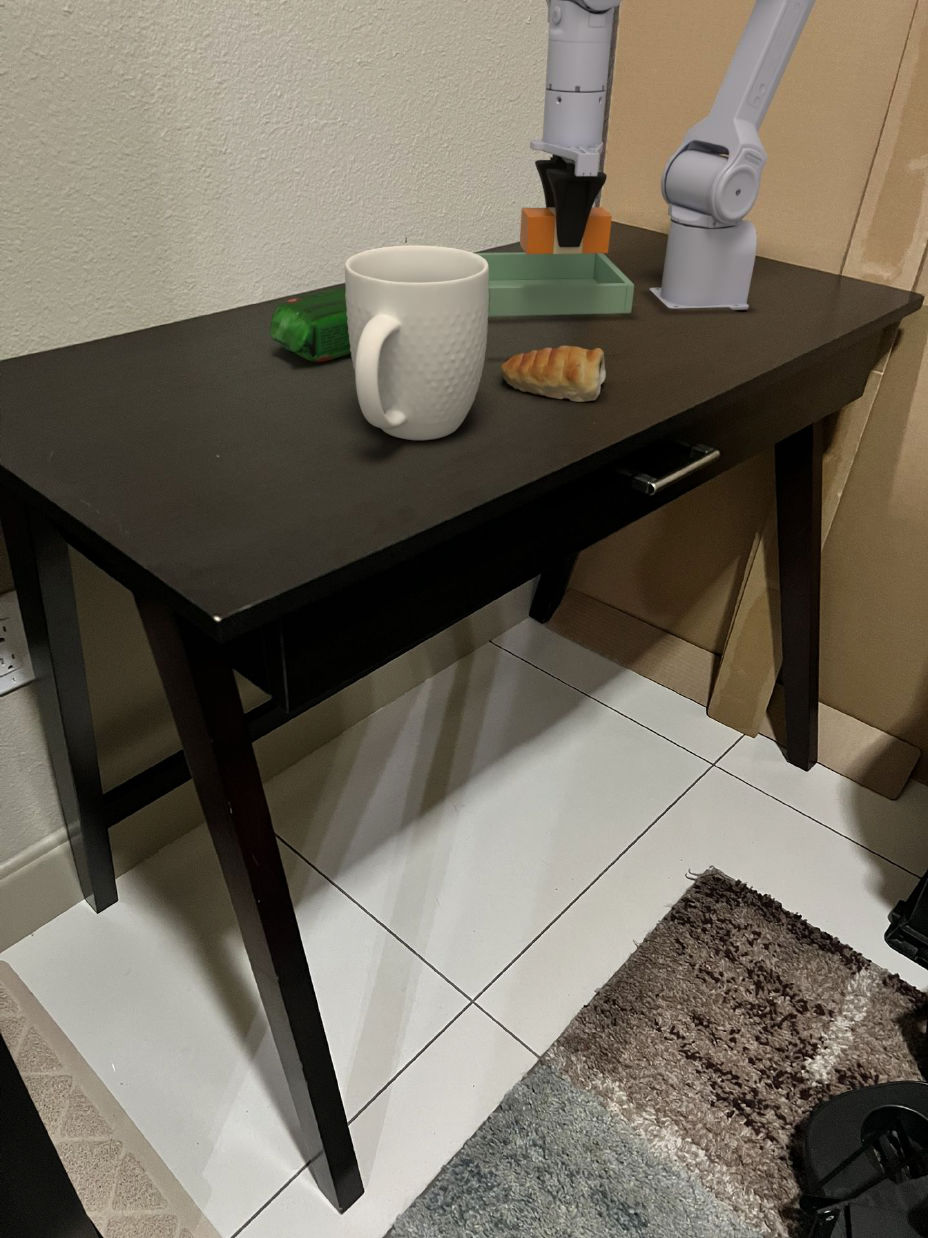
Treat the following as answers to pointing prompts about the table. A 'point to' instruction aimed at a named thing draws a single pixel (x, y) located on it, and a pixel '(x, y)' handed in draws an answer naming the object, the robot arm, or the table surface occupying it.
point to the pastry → (558, 372)
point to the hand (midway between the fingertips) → (564, 240)
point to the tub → (556, 284)
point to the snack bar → (542, 232)
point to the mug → (417, 336)
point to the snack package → (313, 325)
